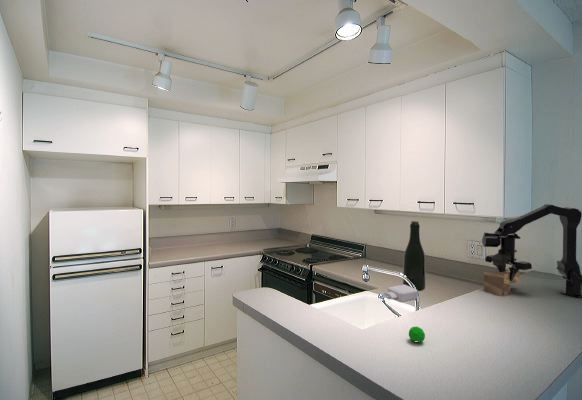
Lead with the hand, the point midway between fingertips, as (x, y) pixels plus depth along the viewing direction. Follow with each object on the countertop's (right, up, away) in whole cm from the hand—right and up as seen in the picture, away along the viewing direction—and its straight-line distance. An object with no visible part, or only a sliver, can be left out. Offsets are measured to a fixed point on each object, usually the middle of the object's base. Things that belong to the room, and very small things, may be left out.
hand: (506, 279), depth 156 cm
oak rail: (0, -1, 0) cm, 1 cm away
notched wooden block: (-7, -5, -3) cm, 9 cm away
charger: (-55, -7, -10) cm, 57 cm away
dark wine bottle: (-43, -5, +4) cm, 43 cm away
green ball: (-62, -9, -49) cm, 79 cm away
